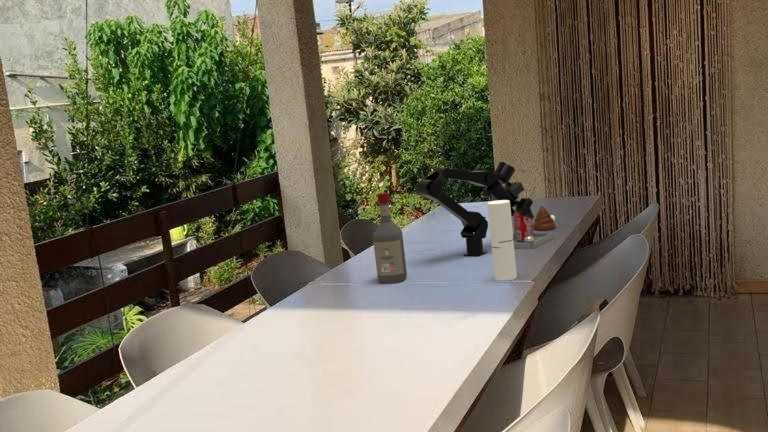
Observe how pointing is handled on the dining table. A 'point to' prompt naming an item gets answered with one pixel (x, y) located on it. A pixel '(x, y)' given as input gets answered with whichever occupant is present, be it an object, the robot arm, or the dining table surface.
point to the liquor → (388, 246)
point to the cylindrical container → (502, 240)
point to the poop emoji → (544, 220)
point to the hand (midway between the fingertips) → (525, 217)
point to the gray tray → (538, 240)
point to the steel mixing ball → (529, 239)
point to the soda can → (522, 226)
